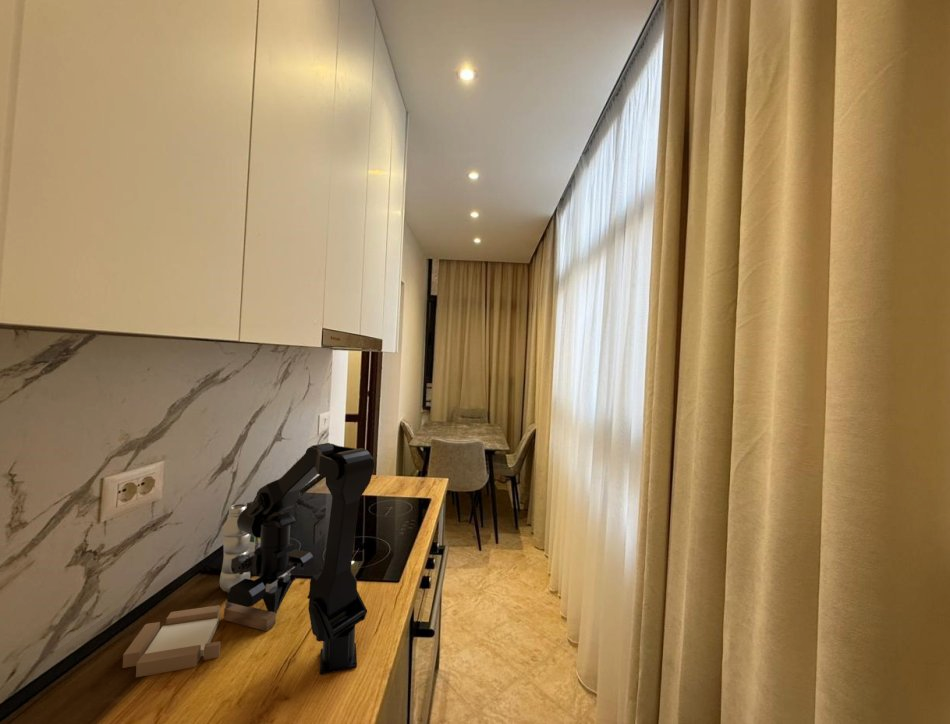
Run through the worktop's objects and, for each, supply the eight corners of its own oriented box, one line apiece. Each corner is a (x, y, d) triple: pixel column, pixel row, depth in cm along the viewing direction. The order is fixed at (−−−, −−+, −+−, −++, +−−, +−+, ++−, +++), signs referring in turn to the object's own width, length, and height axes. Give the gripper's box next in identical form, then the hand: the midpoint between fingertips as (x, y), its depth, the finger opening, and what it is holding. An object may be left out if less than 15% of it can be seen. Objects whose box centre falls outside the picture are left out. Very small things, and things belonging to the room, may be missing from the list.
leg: (221, 620, 87) (221, 604, 87) (230, 614, 89) (231, 598, 89) (266, 632, 83) (267, 616, 83) (275, 625, 86) (275, 609, 86)
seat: (216, 663, 75) (216, 650, 75) (113, 681, 70) (113, 667, 70) (236, 613, 89) (236, 602, 89) (152, 626, 84) (152, 614, 84)
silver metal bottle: (240, 578, 104) (243, 500, 104) (255, 586, 100) (258, 505, 100) (213, 590, 98) (216, 507, 98) (228, 599, 95) (231, 513, 95)
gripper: (277, 521, 99) (275, 585, 99) (207, 555, 81) (204, 633, 81) (315, 528, 96) (313, 594, 96) (251, 564, 78) (248, 646, 78)
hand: (272, 614), depth 88 cm, fingers closed
